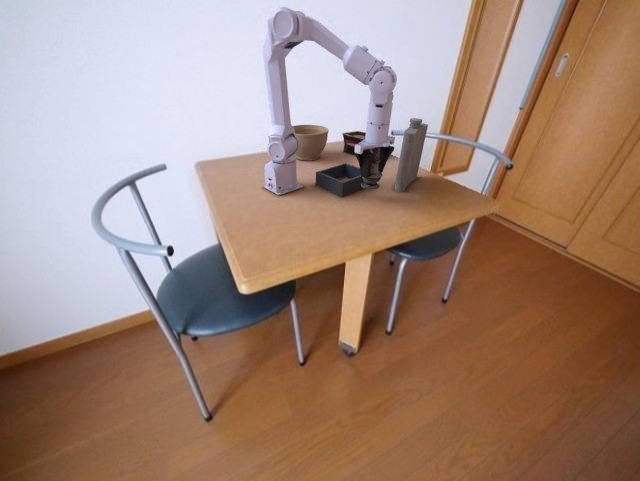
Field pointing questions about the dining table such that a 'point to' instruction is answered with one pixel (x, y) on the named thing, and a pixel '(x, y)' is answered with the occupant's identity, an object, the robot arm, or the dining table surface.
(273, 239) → the dining table surface
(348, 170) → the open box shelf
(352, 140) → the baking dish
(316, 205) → the dining table surface
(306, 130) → the planter bowl
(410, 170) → the hip flask
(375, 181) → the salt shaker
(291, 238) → the dining table surface
